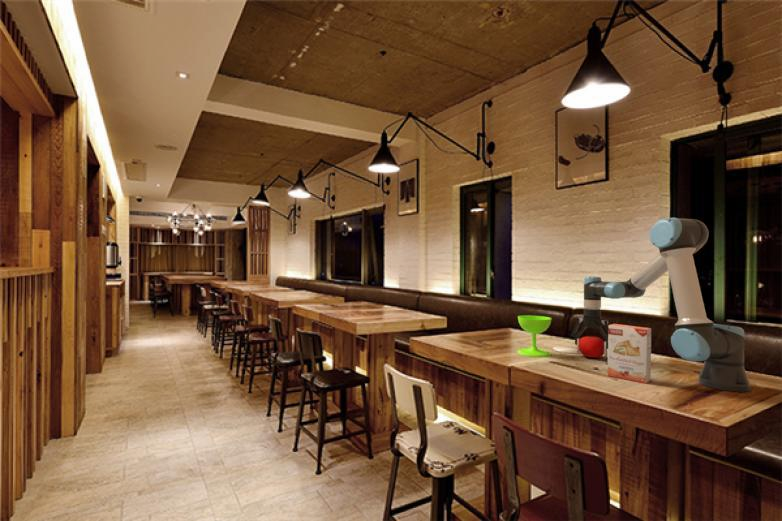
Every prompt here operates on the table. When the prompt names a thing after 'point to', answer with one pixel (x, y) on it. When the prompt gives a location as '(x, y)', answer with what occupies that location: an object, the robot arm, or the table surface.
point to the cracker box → (629, 352)
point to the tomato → (591, 346)
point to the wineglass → (534, 333)
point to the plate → (566, 349)
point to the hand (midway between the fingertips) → (591, 353)
